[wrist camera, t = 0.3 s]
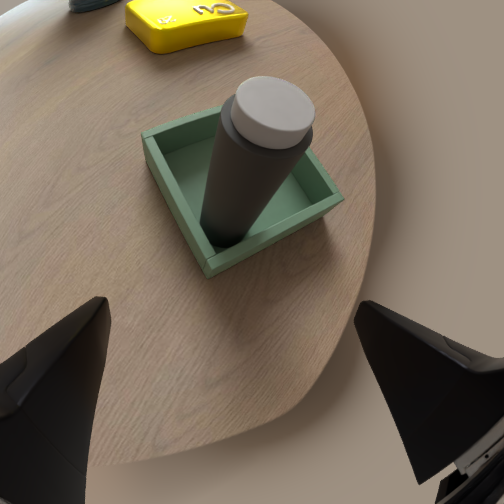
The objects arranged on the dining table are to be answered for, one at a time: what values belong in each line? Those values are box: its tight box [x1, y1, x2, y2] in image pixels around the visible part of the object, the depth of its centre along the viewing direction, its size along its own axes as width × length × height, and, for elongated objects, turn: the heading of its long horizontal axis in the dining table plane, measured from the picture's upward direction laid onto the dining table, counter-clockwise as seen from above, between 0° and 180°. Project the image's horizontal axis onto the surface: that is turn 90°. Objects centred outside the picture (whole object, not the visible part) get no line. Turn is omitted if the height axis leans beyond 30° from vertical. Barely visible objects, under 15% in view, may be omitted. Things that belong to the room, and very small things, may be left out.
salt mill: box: [199, 76, 315, 248], centre depth 16 cm, size 4×4×14 cm
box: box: [141, 105, 344, 279], centre depth 22 cm, size 13×13×4 cm
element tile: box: [125, 0, 249, 54], centre depth 27 cm, size 15×15×5 cm
